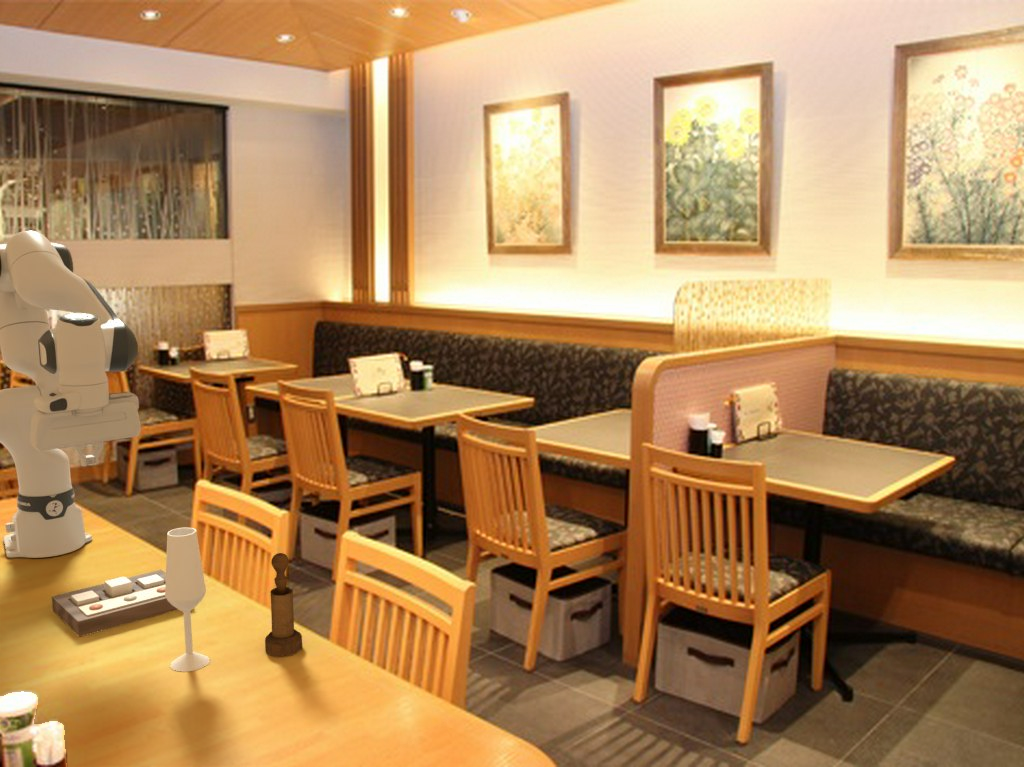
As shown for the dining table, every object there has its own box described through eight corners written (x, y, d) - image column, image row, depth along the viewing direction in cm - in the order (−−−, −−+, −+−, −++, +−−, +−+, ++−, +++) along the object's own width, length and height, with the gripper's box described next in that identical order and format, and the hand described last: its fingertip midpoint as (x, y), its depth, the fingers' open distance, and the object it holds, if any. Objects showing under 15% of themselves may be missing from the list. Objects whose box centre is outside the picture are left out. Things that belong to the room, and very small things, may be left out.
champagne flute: (196, 650, 173) (188, 523, 169) (217, 661, 169) (210, 530, 165) (162, 664, 168) (153, 532, 164) (183, 675, 164) (175, 541, 160)
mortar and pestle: (297, 657, 170) (293, 560, 167) (261, 657, 171) (256, 560, 168) (305, 641, 177) (302, 547, 174) (271, 640, 177) (266, 547, 174)
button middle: (105, 595, 193) (104, 581, 193) (125, 590, 196) (124, 576, 195) (112, 601, 190) (111, 586, 190) (132, 595, 193) (131, 581, 192)
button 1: (72, 609, 189) (71, 595, 189) (93, 604, 192) (91, 590, 191) (78, 616, 186) (77, 601, 186) (100, 610, 189) (98, 596, 188)
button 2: (138, 592, 198) (137, 579, 197) (157, 587, 200) (156, 574, 200) (145, 598, 195) (144, 584, 194) (165, 593, 197) (164, 579, 197)
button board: (52, 610, 191) (51, 596, 190) (161, 582, 205) (160, 569, 205) (79, 636, 179) (78, 621, 178) (193, 605, 193) (192, 591, 193)
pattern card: (78, 608, 184) (78, 606, 184) (170, 584, 196) (169, 582, 196) (87, 616, 181) (86, 614, 181) (180, 591, 192) (179, 589, 192)
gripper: (131, 388, 197) (136, 453, 200) (24, 400, 184) (30, 470, 187) (143, 392, 193) (147, 459, 195) (34, 405, 179) (40, 477, 182)
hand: (89, 464), depth 191 cm, fingers closed
